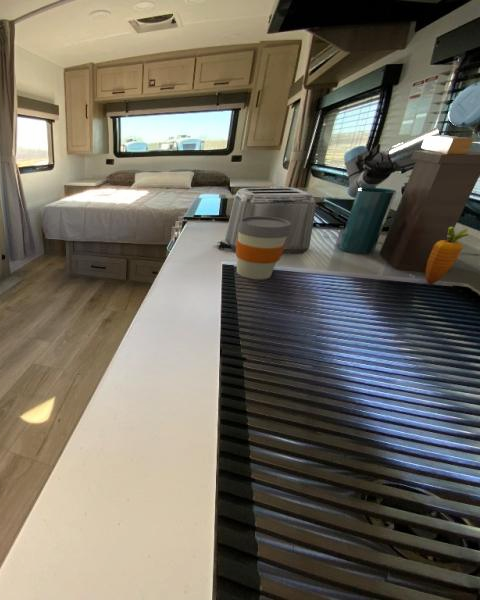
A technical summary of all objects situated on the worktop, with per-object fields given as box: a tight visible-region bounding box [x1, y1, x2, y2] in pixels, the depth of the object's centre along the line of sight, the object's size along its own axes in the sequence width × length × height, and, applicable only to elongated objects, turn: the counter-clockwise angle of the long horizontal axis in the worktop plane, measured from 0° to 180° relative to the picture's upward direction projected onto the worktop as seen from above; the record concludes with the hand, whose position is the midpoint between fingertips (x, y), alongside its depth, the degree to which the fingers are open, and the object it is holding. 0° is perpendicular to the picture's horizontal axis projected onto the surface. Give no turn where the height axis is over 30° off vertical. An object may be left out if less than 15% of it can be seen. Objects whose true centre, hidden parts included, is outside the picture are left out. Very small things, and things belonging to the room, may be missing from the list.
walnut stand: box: [379, 150, 480, 273], centre depth 91 cm, size 16×10×30 cm, turn 156°
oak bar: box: [421, 135, 475, 154], centre depth 88 cm, size 24×4×4 cm, turn 149°
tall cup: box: [338, 187, 397, 256], centre depth 104 cm, size 9×9×19 cm
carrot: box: [425, 227, 469, 285], centre depth 81 cm, size 5×5×15 cm
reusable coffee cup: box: [235, 216, 291, 280], centre depth 92 cm, size 13×13×15 cm
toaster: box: [216, 187, 320, 255], centre depth 110 cm, size 17×30×19 cm, turn 81°
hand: (405, 147), depth 105 cm, fingers open, 13 cm apart
